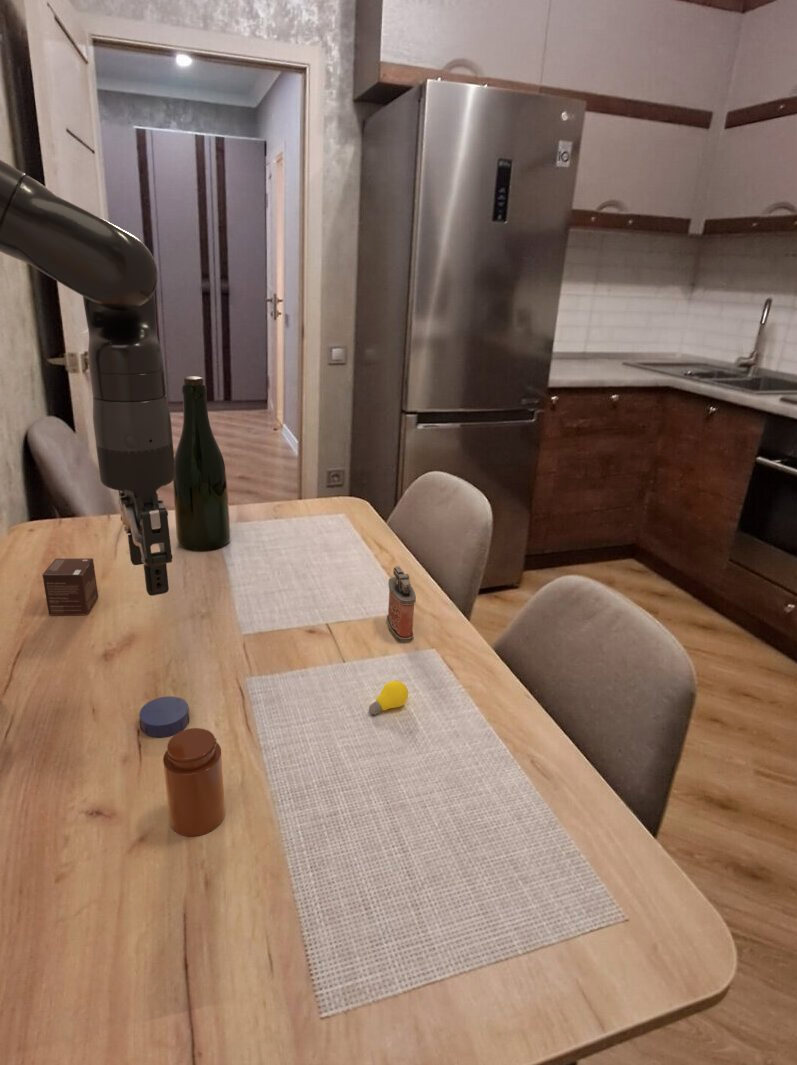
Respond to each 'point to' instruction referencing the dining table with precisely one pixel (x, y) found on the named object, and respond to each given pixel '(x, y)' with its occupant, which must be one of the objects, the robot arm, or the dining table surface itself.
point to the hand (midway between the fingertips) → (149, 577)
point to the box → (70, 586)
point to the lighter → (401, 606)
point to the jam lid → (164, 716)
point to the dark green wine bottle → (199, 476)
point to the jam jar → (194, 782)
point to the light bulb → (390, 697)
